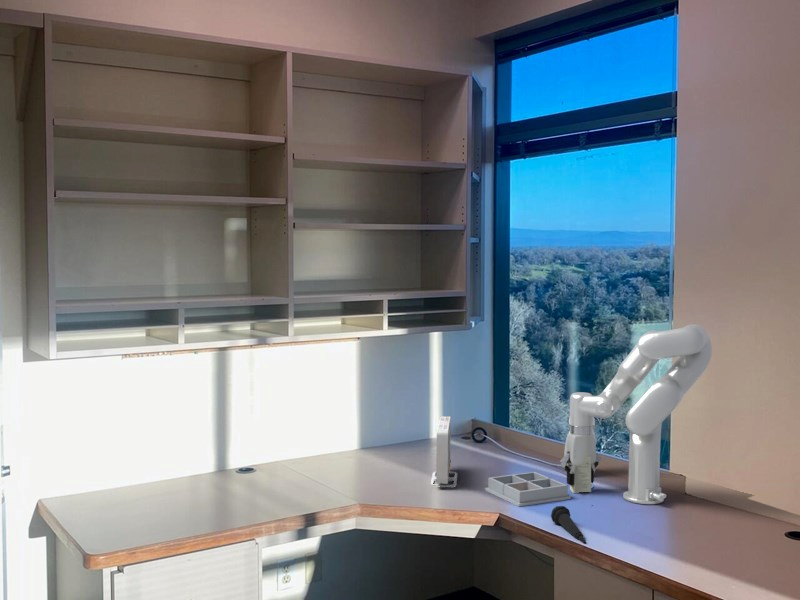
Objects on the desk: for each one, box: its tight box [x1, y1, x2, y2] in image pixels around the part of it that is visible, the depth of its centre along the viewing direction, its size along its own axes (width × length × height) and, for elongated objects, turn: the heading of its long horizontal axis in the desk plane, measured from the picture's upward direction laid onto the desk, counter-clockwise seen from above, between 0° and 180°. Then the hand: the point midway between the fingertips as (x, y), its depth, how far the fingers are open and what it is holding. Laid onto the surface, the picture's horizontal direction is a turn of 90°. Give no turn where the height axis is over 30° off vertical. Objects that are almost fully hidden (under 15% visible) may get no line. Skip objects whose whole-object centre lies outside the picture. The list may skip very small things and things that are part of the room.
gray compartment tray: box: [484, 471, 572, 507], centre depth 272 cm, size 20×20×4 cm
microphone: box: [550, 505, 587, 544], centre depth 236 cm, size 6×6×20 cm
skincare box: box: [569, 456, 592, 494], centre depth 276 cm, size 6×4×12 cm
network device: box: [430, 415, 458, 488], centre depth 289 cm, size 26×9×20 cm, turn 175°
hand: (580, 482), depth 276 cm, fingers closed on skincare box, 7 cm apart
